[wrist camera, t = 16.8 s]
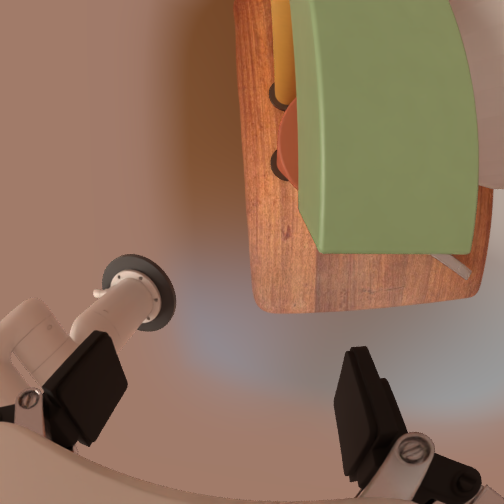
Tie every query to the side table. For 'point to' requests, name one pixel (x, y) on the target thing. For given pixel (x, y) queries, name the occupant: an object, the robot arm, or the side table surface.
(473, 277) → the side table surface
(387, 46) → the green bar
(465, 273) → the grey flat slab
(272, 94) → the ochre rod
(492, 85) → the table lamp
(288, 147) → the terracotta rod
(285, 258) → the side table surface
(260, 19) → the side table surface
